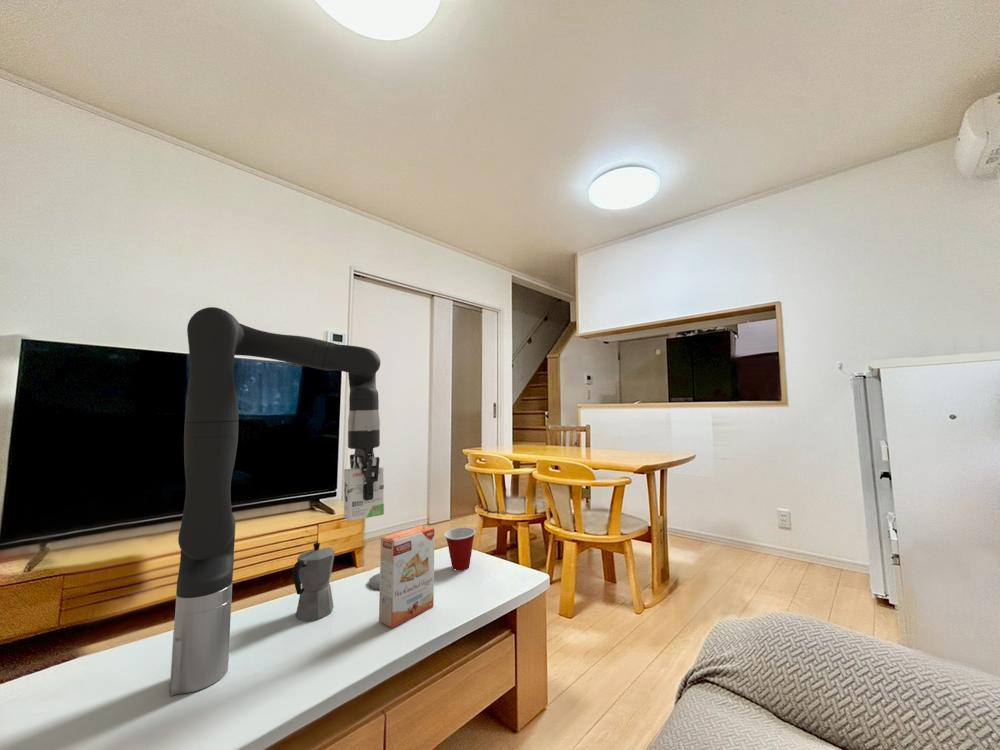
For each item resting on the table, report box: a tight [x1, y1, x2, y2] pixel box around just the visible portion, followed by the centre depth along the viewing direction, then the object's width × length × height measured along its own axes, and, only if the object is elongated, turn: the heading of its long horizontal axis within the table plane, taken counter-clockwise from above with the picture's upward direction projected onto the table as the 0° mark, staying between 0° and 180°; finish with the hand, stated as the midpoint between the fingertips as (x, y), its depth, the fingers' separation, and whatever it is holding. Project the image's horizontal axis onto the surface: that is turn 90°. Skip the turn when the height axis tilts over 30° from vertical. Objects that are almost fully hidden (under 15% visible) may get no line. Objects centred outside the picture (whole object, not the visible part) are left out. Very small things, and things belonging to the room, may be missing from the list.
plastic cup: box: [443, 526, 476, 571], centre depth 133 cm, size 11×11×12 cm
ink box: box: [343, 465, 385, 522], centre depth 96 cm, size 9×5×12 cm, turn 126°
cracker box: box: [378, 525, 435, 629], centre depth 103 cm, size 14×6×21 cm, turn 143°
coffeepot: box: [291, 542, 336, 622], centre depth 103 cm, size 15×9×18 cm, turn 169°
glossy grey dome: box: [368, 572, 380, 590], centre depth 122 cm, size 12×12×1 cm
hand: (363, 497), depth 96 cm, fingers closed on ink box, 5 cm apart
